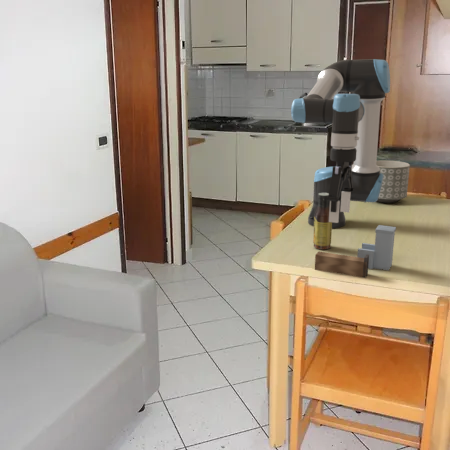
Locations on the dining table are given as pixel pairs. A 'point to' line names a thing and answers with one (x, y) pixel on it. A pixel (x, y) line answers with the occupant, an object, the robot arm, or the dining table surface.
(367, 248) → the grey notched block
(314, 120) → the robot arm
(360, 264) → the rail
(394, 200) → the planter
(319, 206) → the sauce bottle
